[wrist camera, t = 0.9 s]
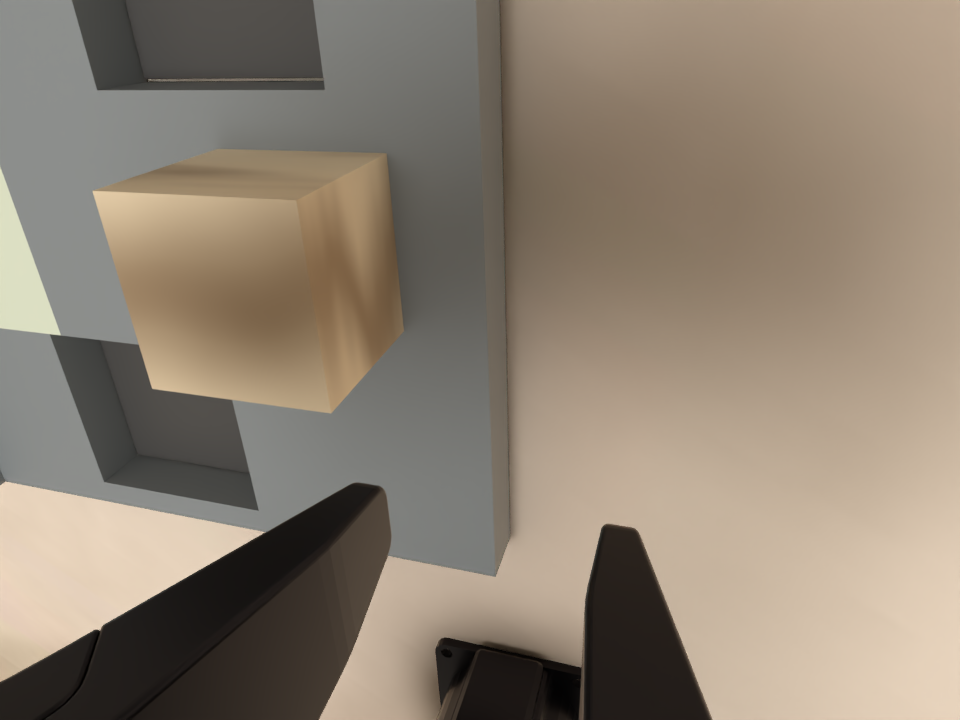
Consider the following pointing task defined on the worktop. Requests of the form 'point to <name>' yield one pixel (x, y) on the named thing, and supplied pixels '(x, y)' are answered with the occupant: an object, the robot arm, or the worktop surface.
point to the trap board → (258, 126)
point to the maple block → (258, 272)
